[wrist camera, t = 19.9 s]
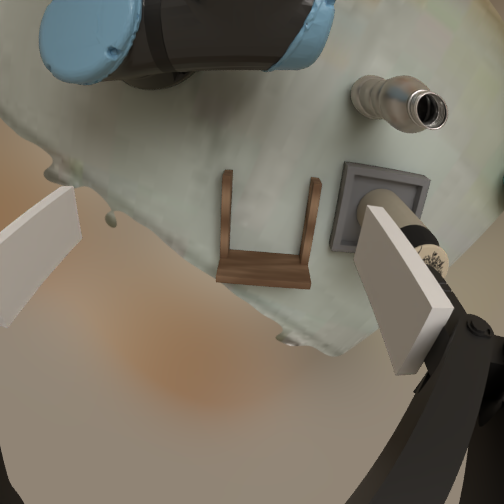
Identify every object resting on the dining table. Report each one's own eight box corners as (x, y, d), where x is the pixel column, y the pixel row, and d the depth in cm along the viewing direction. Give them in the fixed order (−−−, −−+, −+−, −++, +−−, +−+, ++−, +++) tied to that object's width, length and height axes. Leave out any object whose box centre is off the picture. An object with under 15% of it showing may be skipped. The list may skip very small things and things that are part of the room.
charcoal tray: (344, 161, 45) (348, 165, 43) (424, 175, 45) (430, 180, 43) (329, 243, 53) (331, 250, 51) (403, 250, 53) (407, 257, 51)
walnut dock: (225, 169, 47) (217, 186, 40) (318, 177, 47) (328, 196, 40) (222, 254, 55) (215, 282, 48) (304, 261, 55) (309, 289, 48)
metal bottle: (373, 125, 42) (437, 159, 25) (338, 98, 41) (387, 113, 23) (396, 94, 39) (470, 111, 22) (361, 66, 38) (424, 61, 20)
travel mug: (409, 204, 47) (461, 263, 32) (380, 240, 51) (419, 308, 36) (375, 178, 46) (424, 231, 30) (346, 217, 49) (379, 283, 34)
